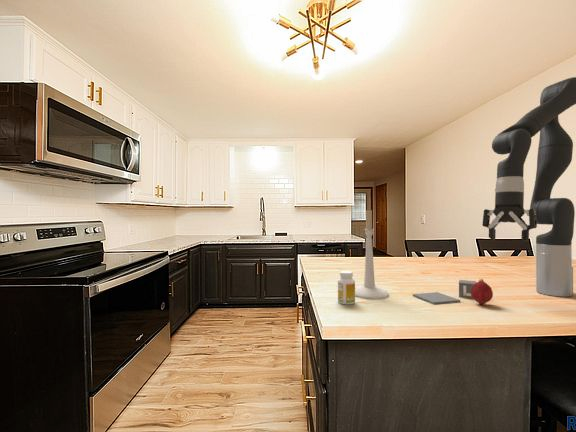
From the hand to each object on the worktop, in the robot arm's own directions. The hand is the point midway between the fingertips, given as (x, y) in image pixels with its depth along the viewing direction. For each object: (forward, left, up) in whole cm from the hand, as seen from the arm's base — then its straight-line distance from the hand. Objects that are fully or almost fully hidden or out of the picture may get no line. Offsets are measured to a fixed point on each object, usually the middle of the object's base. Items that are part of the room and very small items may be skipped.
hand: (507, 240), depth 97 cm
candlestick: (+40, -17, -19) cm, 48 cm away
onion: (+13, +3, -19) cm, 24 cm away
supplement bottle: (+52, -10, -19) cm, 57 cm away
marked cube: (+10, -6, -19) cm, 22 cm away
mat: (+22, -6, -19) cm, 30 cm away
